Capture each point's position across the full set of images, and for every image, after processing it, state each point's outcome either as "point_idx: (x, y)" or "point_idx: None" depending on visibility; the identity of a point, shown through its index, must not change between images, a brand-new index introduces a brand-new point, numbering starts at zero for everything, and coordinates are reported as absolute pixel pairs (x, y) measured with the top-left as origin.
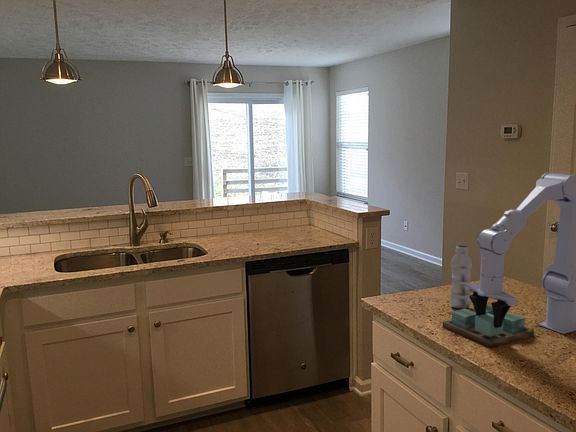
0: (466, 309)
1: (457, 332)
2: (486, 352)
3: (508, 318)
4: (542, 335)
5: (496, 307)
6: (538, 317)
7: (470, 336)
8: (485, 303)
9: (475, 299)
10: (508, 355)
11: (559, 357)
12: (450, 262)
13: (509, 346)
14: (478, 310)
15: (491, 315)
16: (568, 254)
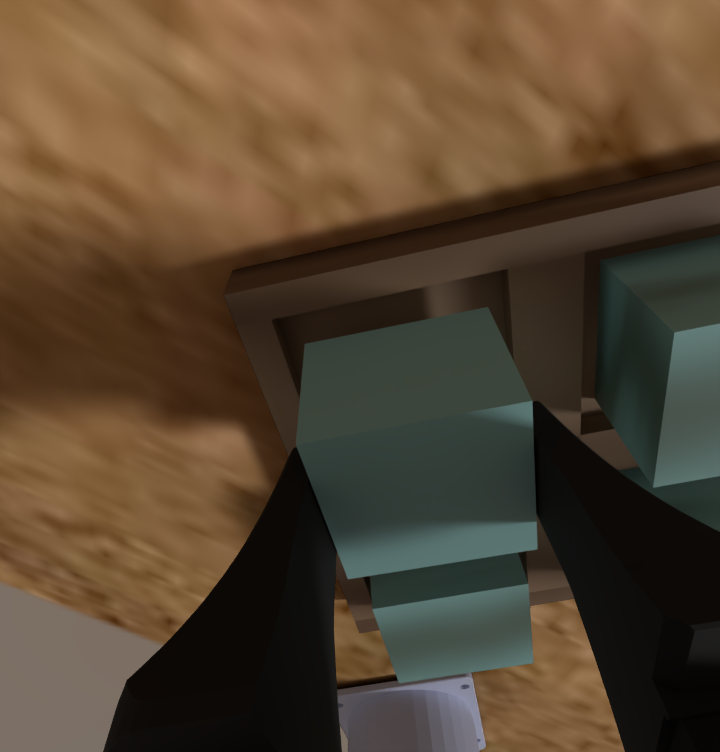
0: None
1: (632, 184)
2: (144, 185)
3: (436, 613)
4: (347, 627)
5: (166, 676)
6: (548, 702)
7: (462, 229)
8: (593, 633)
9: (653, 608)
10: (72, 323)
11: (41, 559)
12: None
13: (239, 418)
14: (564, 489)
15: (475, 542)
16: None
